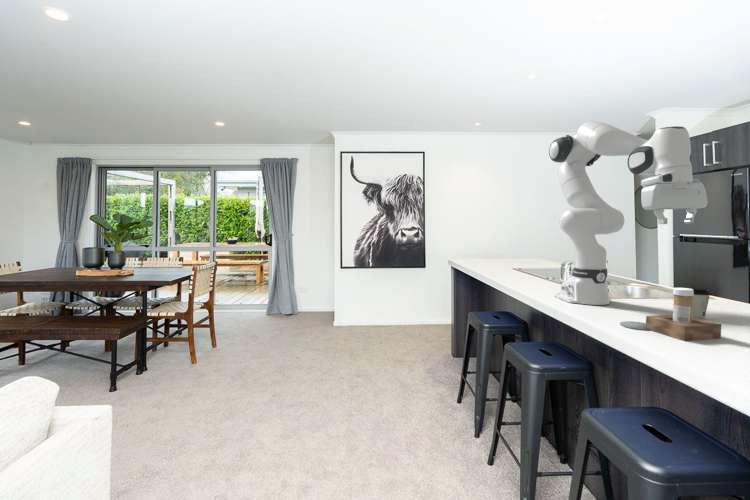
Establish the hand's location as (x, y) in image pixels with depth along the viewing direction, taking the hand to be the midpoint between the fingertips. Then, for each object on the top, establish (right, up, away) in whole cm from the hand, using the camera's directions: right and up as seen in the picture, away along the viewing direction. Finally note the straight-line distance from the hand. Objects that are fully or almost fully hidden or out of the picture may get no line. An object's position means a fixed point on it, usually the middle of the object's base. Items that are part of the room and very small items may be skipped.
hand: (676, 223), depth 111 cm
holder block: (-2, -33, -4) cm, 33 cm away
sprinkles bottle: (-2, -33, -4) cm, 33 cm away
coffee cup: (+18, -32, +14) cm, 39 cm away
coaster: (-9, -32, +4) cm, 34 cm away
